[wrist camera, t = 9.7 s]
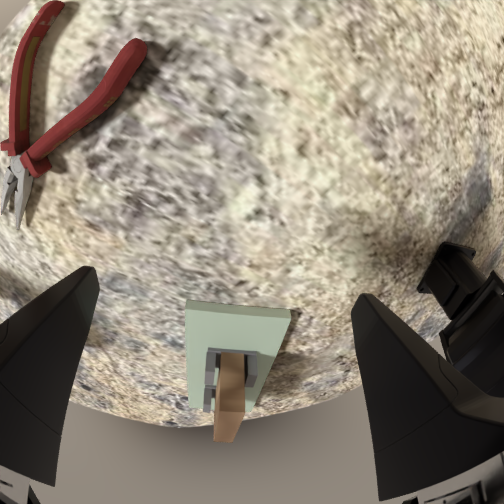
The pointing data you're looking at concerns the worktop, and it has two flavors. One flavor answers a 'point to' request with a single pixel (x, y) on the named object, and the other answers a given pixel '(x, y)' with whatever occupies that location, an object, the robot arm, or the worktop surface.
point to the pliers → (35, 157)
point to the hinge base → (230, 346)
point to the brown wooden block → (229, 397)
